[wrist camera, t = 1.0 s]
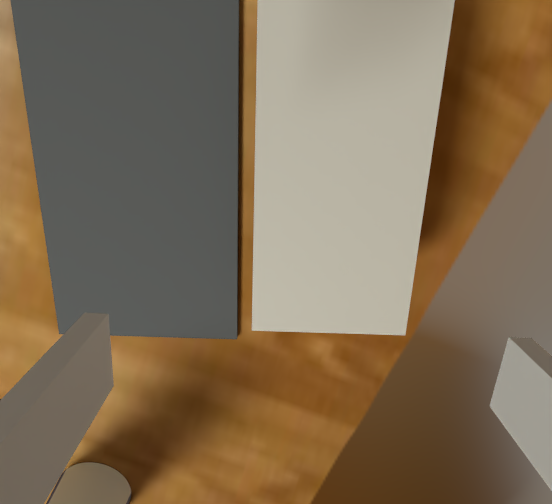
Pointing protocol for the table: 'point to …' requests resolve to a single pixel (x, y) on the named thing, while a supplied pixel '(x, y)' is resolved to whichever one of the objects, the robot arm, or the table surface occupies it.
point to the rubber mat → (136, 159)
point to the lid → (343, 159)
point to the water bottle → (91, 486)
